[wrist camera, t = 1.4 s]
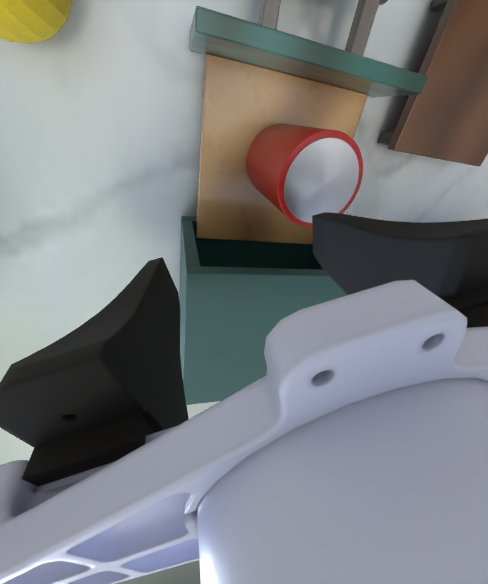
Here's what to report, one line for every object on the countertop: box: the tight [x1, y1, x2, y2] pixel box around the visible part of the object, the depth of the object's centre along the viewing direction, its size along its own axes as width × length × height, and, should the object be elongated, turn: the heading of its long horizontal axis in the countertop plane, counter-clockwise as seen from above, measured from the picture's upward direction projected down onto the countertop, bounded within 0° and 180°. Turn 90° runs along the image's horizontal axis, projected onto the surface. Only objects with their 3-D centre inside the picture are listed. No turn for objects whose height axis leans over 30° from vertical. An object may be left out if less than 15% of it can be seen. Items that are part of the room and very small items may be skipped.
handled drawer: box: [189, 0, 428, 244], centre depth 16 cm, size 13×16×4 cm
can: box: [246, 124, 363, 227], centre depth 15 cm, size 5×5×7 cm
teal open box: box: [180, 216, 347, 405], centre depth 22 cm, size 13×12×9 cm
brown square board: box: [378, 0, 488, 166], centre depth 19 cm, size 9×9×2 cm
